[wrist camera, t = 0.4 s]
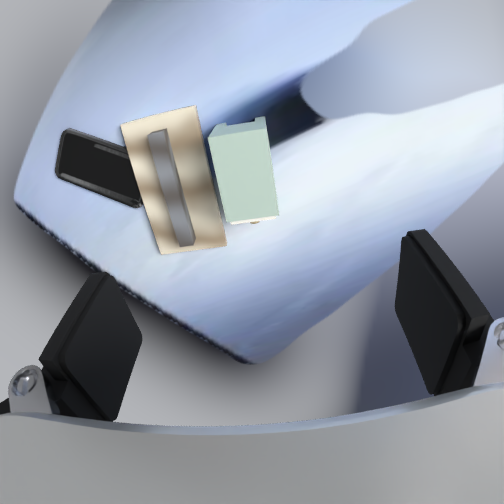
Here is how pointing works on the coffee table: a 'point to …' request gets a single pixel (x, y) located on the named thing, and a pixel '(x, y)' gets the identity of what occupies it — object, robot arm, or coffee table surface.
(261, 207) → the mint green box
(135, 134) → the board
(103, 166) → the phone
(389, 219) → the coffee table surface
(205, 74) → the coffee table surface
